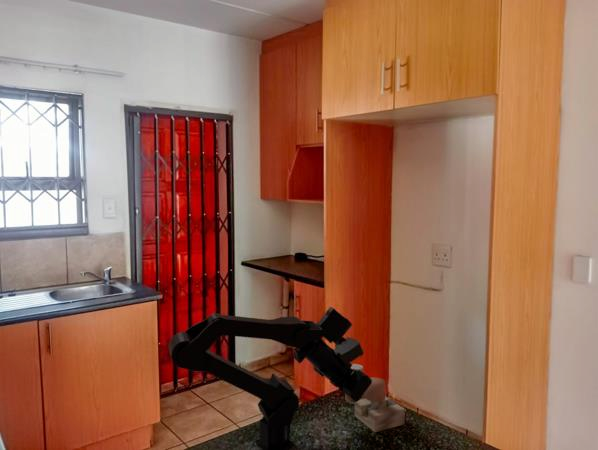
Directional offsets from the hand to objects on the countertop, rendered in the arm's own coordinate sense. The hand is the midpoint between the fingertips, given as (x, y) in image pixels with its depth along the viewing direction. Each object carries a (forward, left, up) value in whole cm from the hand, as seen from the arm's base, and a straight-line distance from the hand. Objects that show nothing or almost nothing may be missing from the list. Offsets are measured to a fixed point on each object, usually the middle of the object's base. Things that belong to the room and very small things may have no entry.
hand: (360, 393), depth 116 cm
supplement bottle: (+9, +10, -8) cm, 16 cm away
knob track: (+6, -2, -8) cm, 10 cm away
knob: (+4, -1, -7) cm, 8 cm away
